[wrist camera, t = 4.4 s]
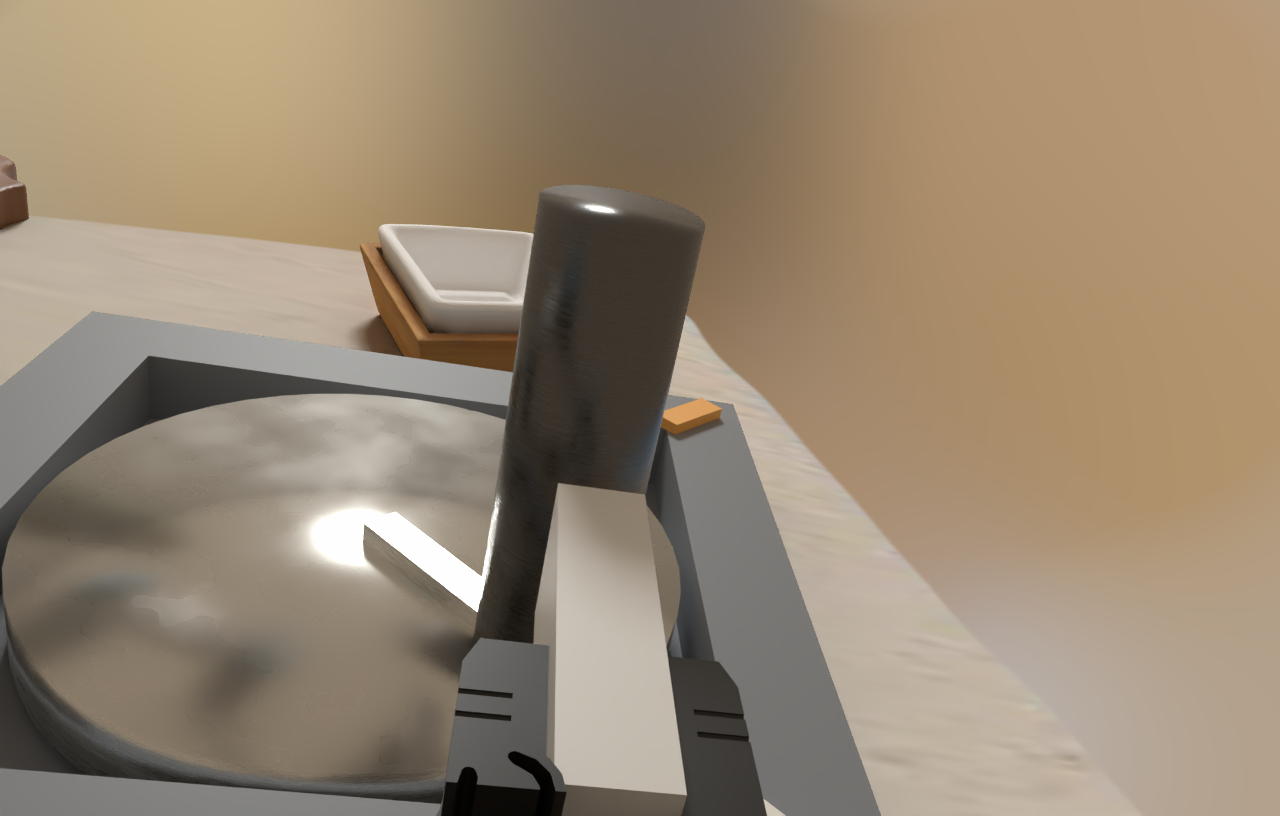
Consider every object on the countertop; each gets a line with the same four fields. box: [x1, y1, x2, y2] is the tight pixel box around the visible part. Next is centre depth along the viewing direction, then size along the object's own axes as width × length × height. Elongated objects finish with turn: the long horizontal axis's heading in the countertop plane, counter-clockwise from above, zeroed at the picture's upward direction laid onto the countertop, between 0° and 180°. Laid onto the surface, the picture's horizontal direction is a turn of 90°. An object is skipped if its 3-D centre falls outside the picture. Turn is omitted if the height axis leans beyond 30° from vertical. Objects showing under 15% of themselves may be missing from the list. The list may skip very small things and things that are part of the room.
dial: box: [2, 185, 705, 804], centre depth 25 cm, size 17×17×13 cm
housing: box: [0, 311, 881, 816], centre depth 28 cm, size 24×24×4 cm
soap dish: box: [360, 224, 534, 372], centre depth 48 cm, size 12×10×5 cm
